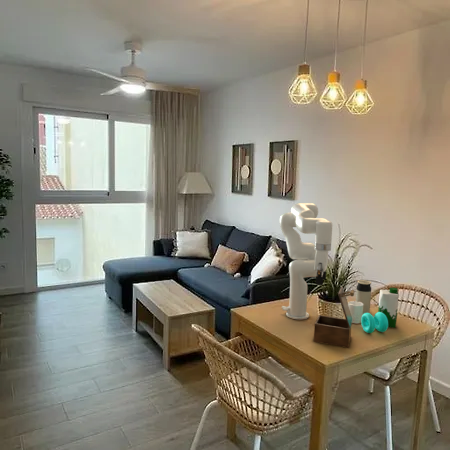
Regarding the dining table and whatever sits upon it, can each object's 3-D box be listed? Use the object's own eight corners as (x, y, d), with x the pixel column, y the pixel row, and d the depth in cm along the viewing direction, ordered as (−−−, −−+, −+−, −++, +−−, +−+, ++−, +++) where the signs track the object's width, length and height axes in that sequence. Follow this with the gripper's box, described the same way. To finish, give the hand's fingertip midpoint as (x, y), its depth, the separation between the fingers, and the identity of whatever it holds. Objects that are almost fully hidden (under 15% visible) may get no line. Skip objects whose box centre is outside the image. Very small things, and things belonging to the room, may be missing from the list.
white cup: (344, 318, 213) (345, 301, 212) (358, 318, 214) (359, 301, 212) (350, 324, 205) (351, 306, 204) (364, 324, 206) (366, 305, 205)
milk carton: (397, 328, 200) (400, 291, 197) (379, 327, 202) (381, 290, 199) (393, 322, 209) (396, 286, 206) (376, 321, 210) (378, 285, 208)
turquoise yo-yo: (388, 335, 192) (390, 316, 190) (370, 336, 190) (371, 317, 188) (376, 327, 202) (378, 309, 200) (359, 328, 199) (360, 310, 198)
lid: (338, 294, 176) (351, 291, 174) (341, 286, 188) (353, 284, 185) (348, 328, 176) (362, 326, 174) (350, 319, 188) (363, 317, 185)
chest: (313, 341, 183) (314, 323, 182) (318, 331, 195) (319, 314, 194) (348, 347, 177) (349, 329, 176) (350, 337, 189) (351, 319, 188)
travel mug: (368, 315, 219) (370, 284, 216) (353, 312, 222) (355, 282, 220) (370, 311, 225) (372, 281, 223) (356, 308, 229) (358, 279, 227)
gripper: (317, 242, 192) (315, 276, 195) (311, 249, 176) (309, 285, 179) (333, 244, 189) (331, 278, 192) (328, 251, 173) (326, 288, 176)
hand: (320, 281), depth 185 cm, fingers open, 9 cm apart
